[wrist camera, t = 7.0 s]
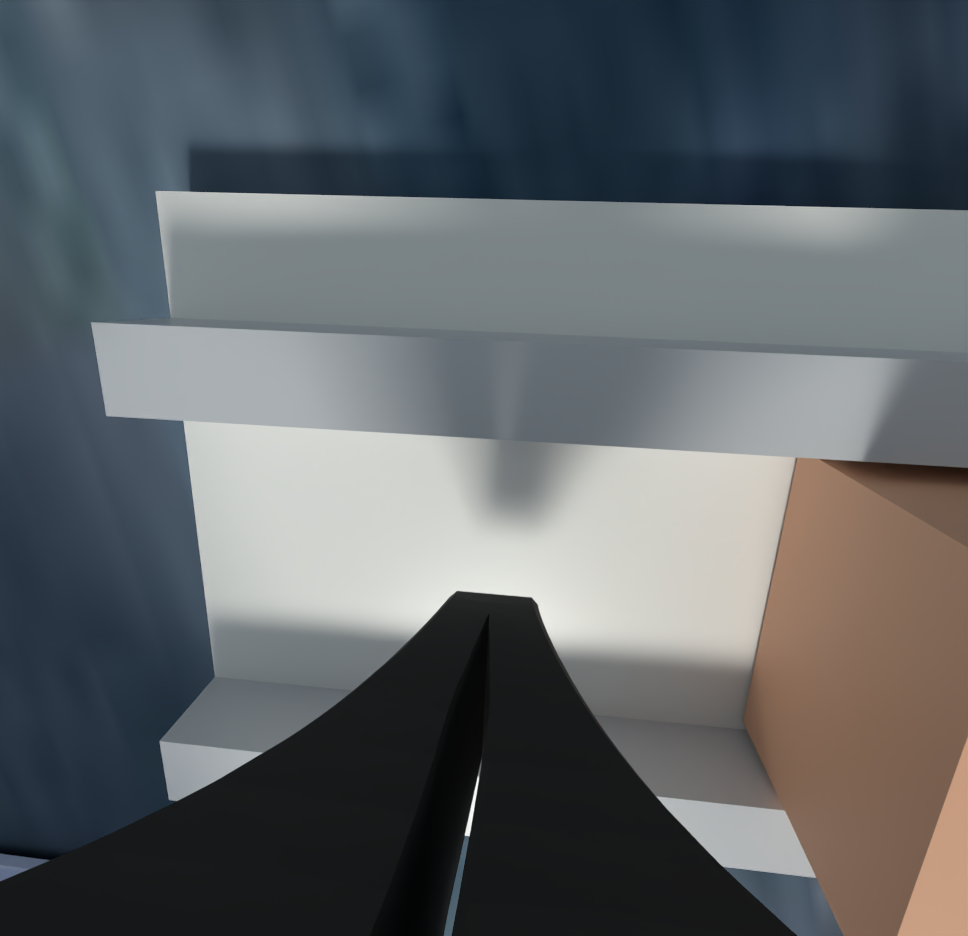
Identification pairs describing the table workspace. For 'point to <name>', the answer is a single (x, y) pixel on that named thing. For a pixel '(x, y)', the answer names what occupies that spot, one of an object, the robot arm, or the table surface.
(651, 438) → the chute
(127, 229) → the table surface
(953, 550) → the block
